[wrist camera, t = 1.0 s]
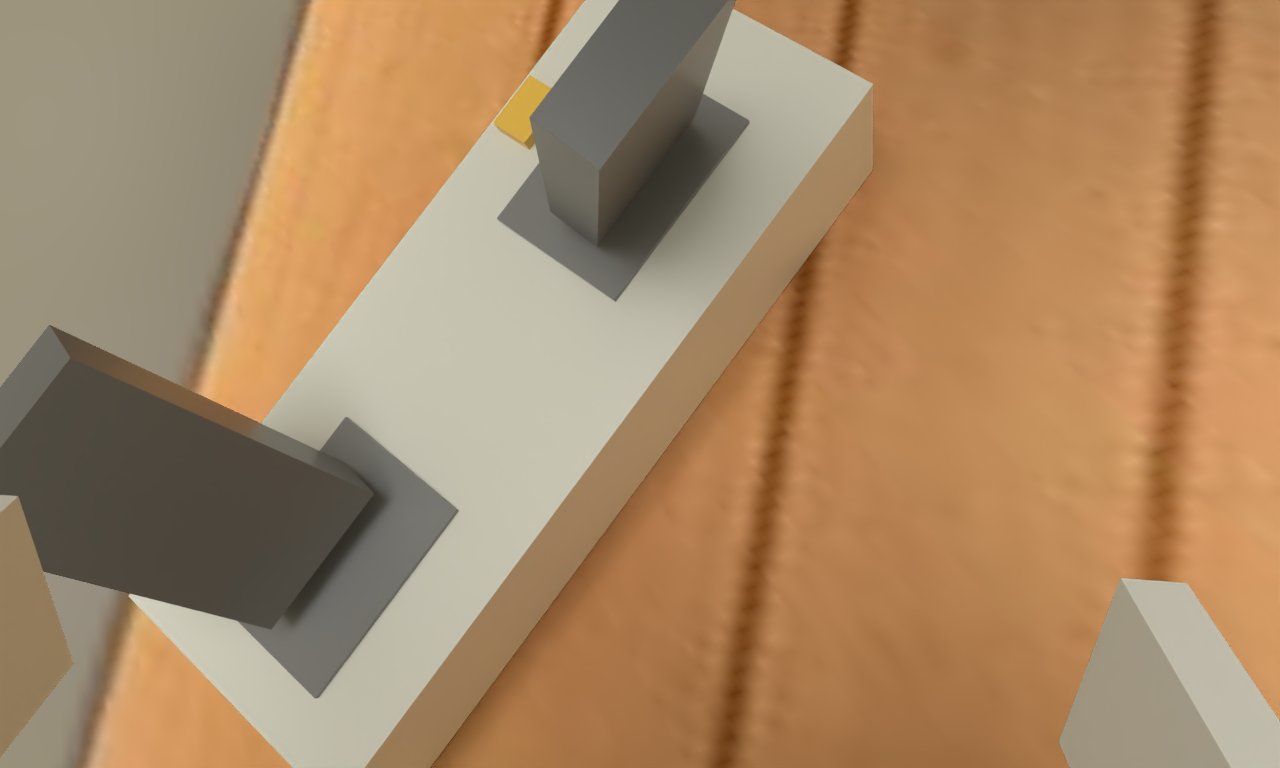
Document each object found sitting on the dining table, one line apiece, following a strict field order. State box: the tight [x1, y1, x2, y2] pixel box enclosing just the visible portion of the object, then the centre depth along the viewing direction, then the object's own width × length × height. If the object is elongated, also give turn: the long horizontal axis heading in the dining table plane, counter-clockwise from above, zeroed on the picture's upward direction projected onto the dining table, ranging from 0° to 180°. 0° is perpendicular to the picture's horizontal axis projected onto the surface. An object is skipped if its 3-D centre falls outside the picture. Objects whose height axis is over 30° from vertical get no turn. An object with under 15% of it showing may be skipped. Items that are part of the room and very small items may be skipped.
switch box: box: [129, 0, 874, 768], centre depth 33 cm, size 27×10×6 cm, turn 142°
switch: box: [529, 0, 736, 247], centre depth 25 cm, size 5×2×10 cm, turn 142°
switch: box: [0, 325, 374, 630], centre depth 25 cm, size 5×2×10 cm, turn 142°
